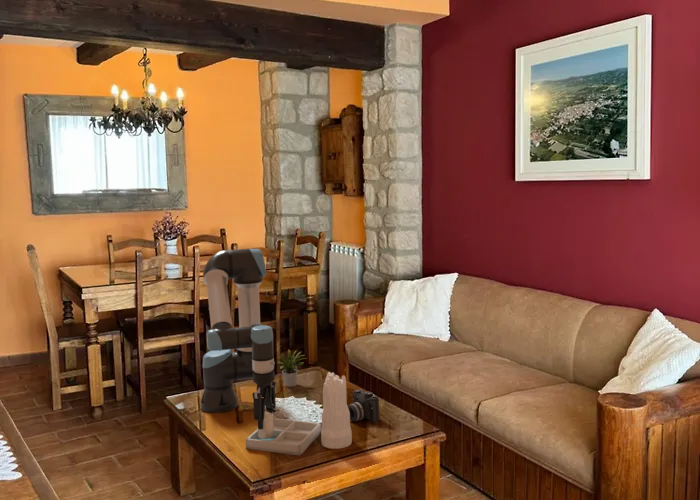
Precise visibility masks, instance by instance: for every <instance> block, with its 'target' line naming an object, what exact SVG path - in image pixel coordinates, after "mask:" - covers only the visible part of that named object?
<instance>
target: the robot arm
mask: <svg viewBox="0 0 700 500" xmlns="http://www.w3.org/2000/svg"><path fill="white" fill-rule="evenodd" d="M202 275H203V283H204V284H205V285H206V290H207V301H208V311H209V319H210V329H208V330H207V331H206V344H207V346H206V347H207V350H209V351H208V352H206V353H204V355H203V357H202V370H203V371H202V372H203V392H202V396H201V399H200V409H201V410H202V411H203V412H206V413H211V414H212V413H214V414H215V413H225V412H229V411H232V410H234V409H236V408H237V407H238V406H239V399H238V397H237V394H236V391H235V388H234V381H242V380H243V381H244V380H250V379H251V380H252V381H253V383H254V384H256V391H255V392H252V399H253V420H254V421H257V429H258V437H262V438H266V421H265V419H264V413H265V412H269V413H271V414H272V416H273V417H274V413H276V411H277V410H276V409H277V405H276V403H277V401H276V389H275V388H276V382H275V370H274V369H275V364H276V362H275V359H274V333H273V327H272V326H269V325H265V324H264V325H263V324H261V305H260V285H261V284H262V283H263V278H265V277H266V276H267V268H266V261H265V258H264V254H263V252H262V250H260V249H259V248H238V249H224V250H220V251H218V252H216V253H214V254H213V255H212V256H211V257H210V258H209V259H208V260H207V262H206V264H205V266H204V268H203V273H202ZM229 280H233V284H234V285H235V286H236V287H237V297H238V299H237V300H238V301H237V302H238V321H239V322H238V323H239V324H238V325H239V327H233V323H232V314H231V307H230V299H229V294H228V293H229V292H228V281H229ZM232 350H236V351H232Z"/></svg>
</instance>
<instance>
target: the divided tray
mask: <svg viewBox="0 0 700 500" xmlns="http://www.w3.org/2000/svg"><path fill="white" fill-rule="evenodd" d="M273 426H274V436H273V437H272V438H269V439H261V438H259V437H258V428H257V429H255V430H254V431H253V432H252V433H251V434H250V435H248V436H247V437H246V438H245V449H246V450H254V451H262V452H269V453H277V454H284V455H292V456H298V457H299V456H301V455H302V454H303V453H304V452H305V451H306V450H307V448H308V447H310V446H311V444H312V443H313V442H314V441H315V440H316V439H317V438H318V437H319V436H320V435H321V430H322V422H313V421H305V420H304V421H302V420H294V419H286V418H284V419H283V418H278V417H277V418H276V417H273Z"/></svg>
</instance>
